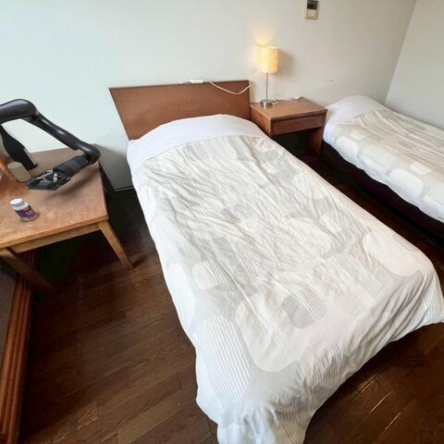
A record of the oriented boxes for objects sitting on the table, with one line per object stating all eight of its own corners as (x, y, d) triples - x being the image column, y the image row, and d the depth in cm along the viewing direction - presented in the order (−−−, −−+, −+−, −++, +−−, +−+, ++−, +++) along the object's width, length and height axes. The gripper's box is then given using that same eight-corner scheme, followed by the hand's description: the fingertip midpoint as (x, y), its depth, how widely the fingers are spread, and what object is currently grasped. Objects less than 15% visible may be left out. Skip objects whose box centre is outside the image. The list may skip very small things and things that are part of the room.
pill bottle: (33, 220, 114) (19, 204, 108) (19, 221, 114) (4, 205, 107) (40, 213, 118) (27, 197, 112) (27, 213, 117) (13, 197, 111)
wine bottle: (32, 162, 149) (-5, 111, 128) (41, 166, 147) (4, 114, 126) (16, 168, 143) (-25, 115, 123) (25, 172, 141) (-16, 119, 121)
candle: (26, 175, 139) (13, 159, 132) (34, 177, 138) (22, 161, 131) (15, 180, 135) (2, 164, 128) (24, 182, 134) (11, 166, 127)
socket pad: (29, 188, 131) (25, 184, 129) (47, 175, 140) (44, 171, 138) (55, 190, 132) (51, 185, 130) (71, 177, 141) (68, 172, 139)
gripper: (51, 161, 127) (20, 177, 115) (76, 165, 126) (47, 182, 114) (59, 173, 132) (30, 190, 120) (83, 177, 131) (57, 195, 119)
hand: (39, 186), depth 117 cm, fingers open, 8 cm apart
